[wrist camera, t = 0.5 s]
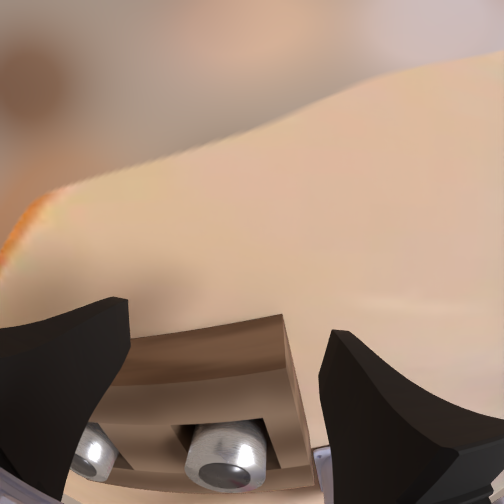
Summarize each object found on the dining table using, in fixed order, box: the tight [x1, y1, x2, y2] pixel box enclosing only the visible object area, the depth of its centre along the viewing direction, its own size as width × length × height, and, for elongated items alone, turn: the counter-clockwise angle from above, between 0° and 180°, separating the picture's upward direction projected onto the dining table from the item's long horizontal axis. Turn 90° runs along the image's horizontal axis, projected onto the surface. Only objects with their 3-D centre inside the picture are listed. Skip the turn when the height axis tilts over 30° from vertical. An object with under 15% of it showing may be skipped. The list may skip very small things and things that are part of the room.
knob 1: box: [70, 422, 119, 482], centre depth 19 cm, size 5×5×6 cm
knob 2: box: [184, 418, 267, 493], centre depth 18 cm, size 5×5×6 cm
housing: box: [86, 314, 315, 494], centre depth 21 cm, size 13×22×6 cm, turn 104°
